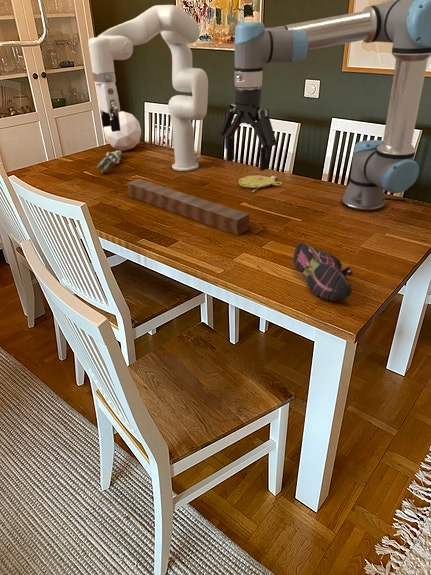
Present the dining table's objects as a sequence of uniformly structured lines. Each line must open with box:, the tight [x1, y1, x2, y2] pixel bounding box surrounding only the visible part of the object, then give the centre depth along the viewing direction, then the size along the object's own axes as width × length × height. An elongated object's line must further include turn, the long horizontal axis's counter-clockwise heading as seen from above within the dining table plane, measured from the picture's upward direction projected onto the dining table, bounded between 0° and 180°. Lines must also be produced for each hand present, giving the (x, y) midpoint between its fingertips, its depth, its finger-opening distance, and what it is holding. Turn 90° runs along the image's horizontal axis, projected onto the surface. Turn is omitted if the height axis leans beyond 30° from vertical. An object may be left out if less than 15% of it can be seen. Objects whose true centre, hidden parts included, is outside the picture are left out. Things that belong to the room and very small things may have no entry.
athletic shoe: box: [292, 242, 355, 301], centre depth 117 cm, size 11×22×12 cm
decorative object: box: [237, 174, 283, 193], centre depth 186 cm, size 21×2×20 cm
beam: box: [126, 178, 250, 236], centre depth 163 cm, size 57×6×6 cm, turn 48°
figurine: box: [96, 149, 123, 174], centre depth 213 cm, size 7×8×30 cm
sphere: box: [103, 110, 142, 152], centre depth 233 cm, size 19×20×20 cm
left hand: (111, 128), depth 164 cm, fingers open, 9 cm apart
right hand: (246, 164), depth 132 cm, fingers open, 13 cm apart
